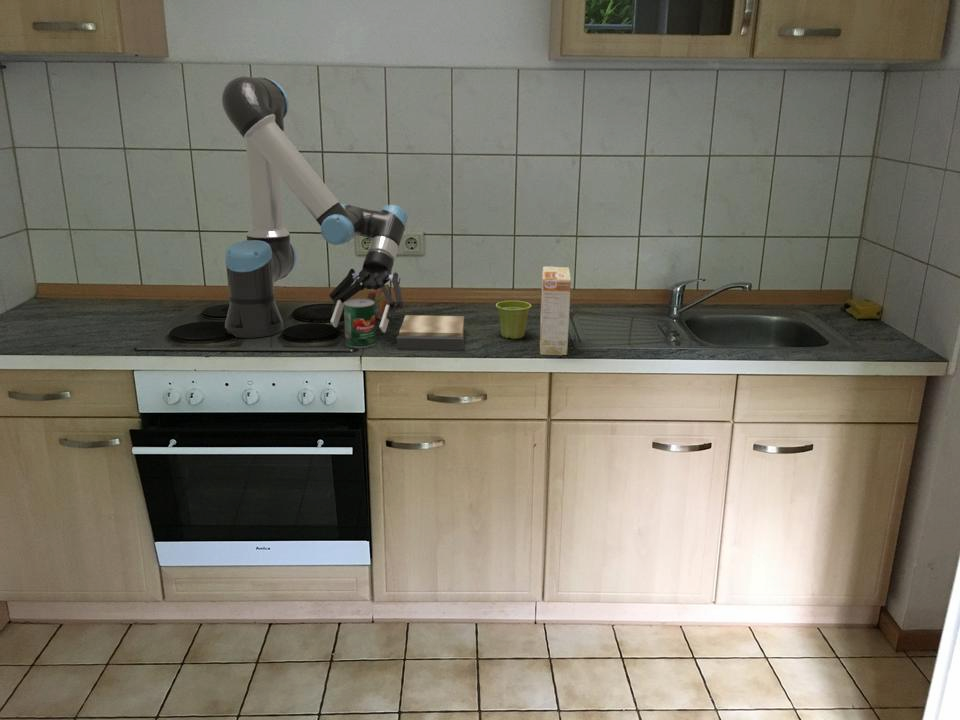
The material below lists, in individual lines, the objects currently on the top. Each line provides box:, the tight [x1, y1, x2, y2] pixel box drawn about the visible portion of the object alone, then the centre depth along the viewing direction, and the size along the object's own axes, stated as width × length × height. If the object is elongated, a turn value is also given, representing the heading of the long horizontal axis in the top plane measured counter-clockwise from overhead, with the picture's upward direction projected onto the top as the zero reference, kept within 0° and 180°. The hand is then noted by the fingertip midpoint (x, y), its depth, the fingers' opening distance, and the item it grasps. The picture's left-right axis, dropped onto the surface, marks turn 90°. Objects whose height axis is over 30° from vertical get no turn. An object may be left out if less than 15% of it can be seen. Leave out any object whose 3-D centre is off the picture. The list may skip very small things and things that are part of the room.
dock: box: [396, 314, 465, 351], centre depth 205 cm, size 17×18×4 cm
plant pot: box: [495, 300, 532, 340], centre depth 208 cm, size 9×9×9 cm
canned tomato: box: [343, 298, 377, 349], centre depth 200 cm, size 8×8×11 cm
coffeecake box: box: [539, 265, 572, 356], centre depth 198 cm, size 15×7×20 cm, turn 175°
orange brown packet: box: [367, 284, 393, 320], centre depth 226 cm, size 15×3×8 cm, turn 168°
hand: (357, 327), depth 198 cm, fingers open, 13 cm apart
